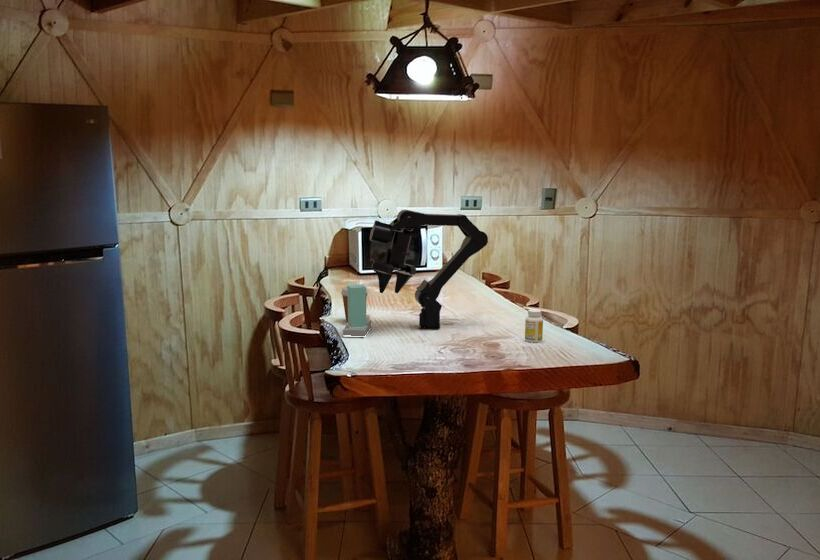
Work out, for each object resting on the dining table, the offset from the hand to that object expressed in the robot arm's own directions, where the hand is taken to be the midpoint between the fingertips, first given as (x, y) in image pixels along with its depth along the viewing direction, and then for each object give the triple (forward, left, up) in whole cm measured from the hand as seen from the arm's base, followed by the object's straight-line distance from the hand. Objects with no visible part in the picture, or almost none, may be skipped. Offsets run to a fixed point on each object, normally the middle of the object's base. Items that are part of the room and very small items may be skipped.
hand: (388, 292), depth 207 cm
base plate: (+10, +5, -12) cm, 17 cm away
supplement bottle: (-47, +11, -13) cm, 50 cm away
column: (+10, +6, -10) cm, 15 cm away
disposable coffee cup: (+13, -10, -13) cm, 21 cm away
